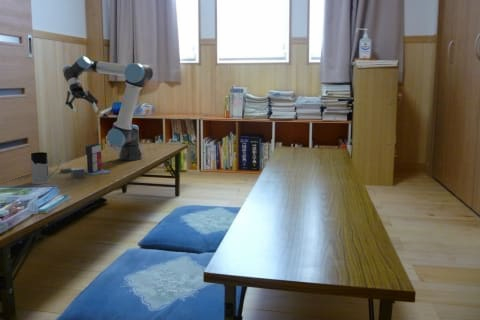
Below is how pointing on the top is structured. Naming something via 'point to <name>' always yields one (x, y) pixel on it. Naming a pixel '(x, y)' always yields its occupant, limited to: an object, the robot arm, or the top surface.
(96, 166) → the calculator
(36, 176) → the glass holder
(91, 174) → the rubber mat
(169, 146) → the top surface
